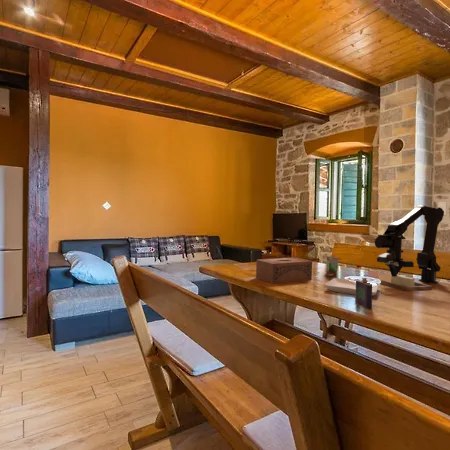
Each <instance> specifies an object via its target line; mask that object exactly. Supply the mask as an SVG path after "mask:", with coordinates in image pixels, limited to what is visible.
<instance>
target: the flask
mask: <svg viewBox="0 0 450 450" xmlns="http://www.w3.org/2000/svg"><path fill="white" fill-rule="evenodd" d="M361 279H362V280H359V279H357V280H356V279H355V280H356V295H355V296H354V297H355V298H354V303H355V304H357V305H359V306H361V307H363V308H365V309H368V310H372V308H373V295H372V284H370V283H367V282H369V280H368V277H362V278H361Z"/></svg>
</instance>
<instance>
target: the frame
mask: <svg viewBox="0 0 450 450" xmlns="http://www.w3.org/2000/svg"><path fill="white" fill-rule="evenodd" d="M380 281H381V284H380V285H385V286H387V287H390V288H394V289H397V290H401V291H404V292H406V291H407V292H408V291H409V292H410V291H426V290H428V291H429V290H432V289H433V285H429V284H424V283H421V282H418V281H414V286H410V287H408V286H402V285H397V284H393V283H391V281H390V282H389V281H386V280H380Z"/></svg>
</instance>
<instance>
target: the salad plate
mask: <svg viewBox="0 0 450 450" xmlns="http://www.w3.org/2000/svg"><path fill="white" fill-rule="evenodd" d="M349 280H350V279H346V278H337V277H333V278H332V279H331V280H329V281H328V282H327V283H325V284H324V287H325V288H326V289H328V290H329V291H333V292H335V293H342V294H347V295H348V294H349V295H353V296H354V295H356V285H353V284H351V283H350V282H349ZM353 280H354V281H356V279H353ZM375 283H376V284H377V286H375V287H372V296H374V295H376V293H377V292H378V289H379V287H380V286H381V284H380V282H375Z"/></svg>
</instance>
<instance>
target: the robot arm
mask: <svg viewBox="0 0 450 450" xmlns="http://www.w3.org/2000/svg"><path fill="white" fill-rule="evenodd" d="M444 215H445V211H444V210H443V208H442V207H431V206H427V205H417V206H415V208H414V209H412V210H411V211H410V212H408V213H407V214H406V215H405V216H403V217H402V218H400V219H399V220H395V221H394V222H391V223H389V224H388V225H387V228H386V230H385V231H384V232H383V234H377V237H376V238H375V240H374V245H375V247H376V248H377V249H386V250H385V251H386V252H385V253H384V252H383V253H381V254H379V255H377V256H378V257H377V258H376V262H378V263H384V265H385V266H387V267H388V269H389V272H390V274H391V277H393V276H398V274H399V273H400V271H401V270H402V269H403V268H414V265H415V263H414V262H413V261H412V260H404V258H402V253H404V250H403V249H402V247H403V240H406V239H407V238H406V237H405V236H404V234H405V232H407V230H408V228H409V226H410V225H412V223H414V222H415V221H417V220H418V219H419V218H420V217H421V216H424V221H425V222H426V227H425V231H424V232H425V233H424V238H423V239H424V240H423V246H422V250H421V251H420V252H417V254H416V258H415V260H416V263H417V267H418V269H419V270H421V274H420V279H418V281H419V282H424V283H428V284H434V283H439V281H437V273H438V272H440V271H441V266H440V265H439V264H438V263H437V256H436V254H435V251H434V250H435V247H436V246H435V245H436V240H437V239H436V238H437V233H438V227H439V224H440V223H441V222H442V221H443V219H444Z"/></svg>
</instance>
